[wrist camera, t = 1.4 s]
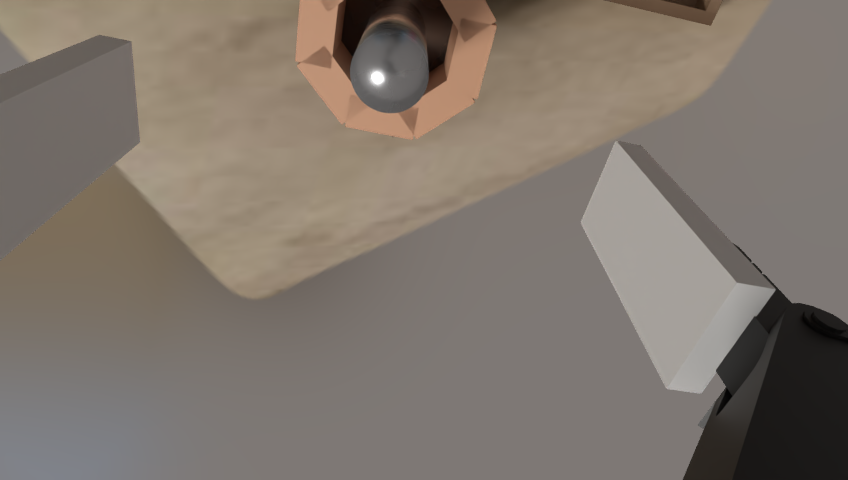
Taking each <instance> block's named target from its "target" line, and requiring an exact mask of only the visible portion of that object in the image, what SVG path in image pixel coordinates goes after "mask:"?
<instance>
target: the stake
mask: <svg viewBox="0 0 848 480" xmlns="http://www.w3.org/2000/svg"><path fill="white" fill-rule="evenodd" d="M452 24H453V21H452V19H451V18H450V16H449V14H448V13H447V11H446V9H445V7H444V6H443V4H442V2H441V1H440V0H346V6H345V14H344V23H343V31H342V39H341V41H342V42H343V44H344V45H345V47H346V48H347V50H348V51H349V52H350V54H351V55H352V57H353V58H352V61H351V66H350V78H351V83H352V86H353V89H354V91H355V93H356V94H357V96H358V97H359V98H360V100H361V101H362V102H363V103H365V104H366V105H367V106H368V107H370V108H372V109H374V110H376V111H379V112H383V113H399V112H402V111H405V110H407V109H409V108H411V107H412V106H414V105H415V104H416V103H417V102H418V101H419V100H420V99H421V98H422V96H423V94H424V93H425V90H426V88H427V85H428V79H429V72H431V71H432V70H434V69H435V68H437V67H438V66H440V65H441V64H443V63H444V60H445V55H446V51H447V46H448V42H449V37H450V33H451V28H452Z"/></svg>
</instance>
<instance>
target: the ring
mask: <svg viewBox="0 0 848 480" xmlns="http://www.w3.org/2000/svg"><path fill="white" fill-rule="evenodd" d="M440 1H441V2H442V4H443V6H444V7H445V9H446V11H447V13H448V14H449V16H450V18H451V19H452V21H453V24H452V28H451V33H450V37H449V42H448V46H447V51H446V55H445V60H444V63H443V64H441V65H440V66H438V67H437V68H435V69H434V70H432V71H431V72H429V79H428V85H427V88H426V90H425V93H424V94H423V96H422V98H421V99H420V100H419V101H418V102H417V103H416V104H415V105H414V106H412V107H411V108H409V109H407V110H405V111H402V112H399V113H383V112H379V111H376V110H374V109H372V108H370V107H368V106H367V105H366V104H365V103H363V102H362V101H361V100H360V98H359V97H358V96H357V94H356V93H355V91H354V89H353V86H352V83H351V78H350V66H351V61H352V58H353V57H352V55H351V54H350V52H349V51H348V50H347V48H346V47H345V45H344V44H343V42H342V41H341V39H342V31H343V23H344V14H345V6H346V0H300V7H299V20H298V33H297V46H296V59H295V61H296V62H299V63H298V65H297V67H298V68H299V69H300V71H301V72H302V73H303V75H304V76H305V77H306V78H307V80H308V81H309V82H310V84H311V85H312V86H313V88H314V89H315V90H316V92H317V93H318V94H319V95H320V97H321V98H322V99H323V101H324V102H325V103H326V105H327V106H328V107H329V109H330V110H331V111H332V112H333V114H334V115H335V116H336V118H337V119H338V120H339V122H340V123H341V124H343V123H345V122H346V125H345V127H349V128H354V129H360V130H365V131H370V132H375V133H380V134H385V135H390V136H395V137H400V138H406V139H411V140H413V135H414V136H415V138H416V139H417V138H419V137H421V136H422V135H424V134H425V133H427V132H429V131H430V130H432V129H433V128H435V127H437V126H438V125H440V124H441V123H443V122H445V121H446V120H448V119H449V118H451V117H453V116H454V115H456V114H457V113H459V112H461V111H462V110H464V109H465V108H467V107H469V106H470V105H472V104H473V103H475V101H474V99H478V95H479V91H480V88H481V84H482V80H483V76H484V73H485V69H486V65H487V62H488V58H489V54H490V50H491V47H492V43H493V39H494V35H495V32H496V28H497V25H496V24H495V22H496V19H495V17H494V16H493V14H492V12H491V10H490V8H489V6H488V4H487V3H486V1H485V0H440Z"/></svg>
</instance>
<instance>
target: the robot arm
mask: <svg viewBox="0 0 848 480" xmlns="http://www.w3.org/2000/svg"><path fill="white" fill-rule="evenodd" d="M139 142H140V137H139V126H138V114H137V103H136V91H135V79H134V68H133V56H132V44H131V41H127V40H122V39H117V38H112V37H107V36H102V35H98V36H95V37H93V38H90V39H88V40H85V41H83V42H81V43H78V44H76V45H73V46H71V47H68V48H66V49H63V50H61V51H58V52H56V53H53V54H51V55H48V56H46V57H43V58H41V59H38V60H36V61H33V62H31V63H28V64H26V65H24V66H21V67H19V68H16V69H13V70H11V71H8V72H6V73H3V74H1V75H0V260H1V259H3V258H4V257H5V256H6V255H7V254H8V253H10V252H11V251H12V250H13V249H14V248H15V247H17V246H18V245H19V244H20V243H21V242H23V241H24V240H25V239H26V238H27V237H29V236H30V235H31V234H32V233H33V232H34V231H36V230H37V229H38V228H39V227H40V226H41V225H42V224H44V223H45V222H46V221H47V220H48V219H50V218H51V217H52V216H53V215H54V214H56V213H57V212H58V211H59V210H60V209H62V208H63V207H64V206H65V205H66V204H67V203H69V202H70V201H71V200H72V199H73V198H75V197H76V196H77V195H78V194H79V193H80V192H82V191H83V190H84V189H85V188H86V187H88V186H89V185H90V184H91V183H92V182H93V181H95V180H96V179H97V178H98V177H99V176H101V175H102V174H103V173H104V172H105V171H106V170H108V169H109V168H110V167H111V166H112V165H114V164H115V163H116V162H117V161H118V160H119V159H121V158H122V157H123V156H124V155H125V154H127V153H128V152H129V151H130V150H131V149H132V148H134V147H135V146H136V145H137V144H138V143H139ZM581 224H582V226H583V228H584V230H585V232H586V234H587V236H588V238H589V240H590V242H591V244H592V246H593V248H594V249H595V251H596V253H597V255H598V257H599V259H600V261H601V263H602V265H603V267H604V269H605V270H606V273H607V275H608V277H609V279H610V281H611V282H612V284H613V286H614V288H615V290H616V292H617V294H618V296H619V298H620V300H621V302H622V304H623V305H624V307H625V310H626V311H627V313H628V315H629V317H630V319H631V321H632V323H633V325H634V327H635V329H636V331H637V333H638V335H639V336H640V338H641V340H642V342H643V344H644V346H645V348H646V350H647V352H648V354H649V356H650V358H651V360H652V361H653V364H654V366H655V367H656V369H657V371H658V373H659V375H660V377H661V379H662V381H663V383H664V385H665V387H666V389H672V390H679V391H686V392H693V393H700V394H701V393H702V392H703V390H704V389H705V387H706V386H707V384H708V383H709V382H710V380H711V379H712V378H713V376H714V375H715V373H716V372H717V373H718V375H719V376H720V378H721V379H722V381H723V383H724V384H725V386H726V388H725V389H724V391H723V392H722V393H721V395H720V396H719V398H718V399H717V400H716V401H715V403H714V404H713V405H712V407H711V408H710V409H709V411H708V412H707V413H706V415H705V416H704V418H703V419H702V420H701V421H700V423H699V424H698V426H700V427H701V428H704V427H705V428H704V430H703V433H702V435H701V438H700V440H699V443H698V445H697V447H696V449H695V452H694V454H693V457H692V459H691V461H690V464H689V466H688V468H687V471H686V474H685V476H684V478H683V480H848V325H847V324H846V323H845V322H843V321H842V320H840V319H839V318H838V317H836V316H834V315H833V314H830V313H828V312H826V311H823V310H821V309H818V308H816V307H814V306H810V305H805V304H801V303H791V302H790V301H789V300H788V299H787V298H786V297H785V295H784V294H783V293H782V292H781V291H780V290H779V289H778V288H777V287H776V286H775V285H774V284H773V283H772V282H771V281H770V280H769V279H768V278H767V276H766V275H764V274H762V271H761V270H760V269H759V268H758V267H757V266H756V265H755V264H754V263H751V259H750V258H749V257H747V255H746V254H745V253H744V252H743V251H742V250H741V249H740V248H739V247H738V246H736V245H735V244H733V243H732V242H731V241H730V240H729V239H728V238H727V237H726V236H725V235H724V234H723V233H722V231H720V229H719V228H718V227H717V226H716V225H715V224H714V223H713V222H712V221H711V220H710V219H709V218H708V216H707V215H706V214H705V213H704V212H703V211H702V210H701V209H700V208H699V207H698V206H697V205H696V204H695V203H694V202H693V200H692V199H691V198H690V197H689V196H688V195H687V194H686V193H685V192H684V191H683V190H682V189H681V188H680V187H679V186H678V185H677V183H676V182H675V181H674V180H673V179H672V178H671V177H670V176H669V175H668V174H667V173H666V172H665V171H664V170H663V169H662V168H661V167H660V165H659V164H658V163H657V162H656V161H655V160H654V159H653V158H652V157H651V156H650V155H649V154H648V152H647V151H646V150H645V149H644V148H643V147H642V146H640V145H635V144H631V143H626V142H621V141H615V144H614V146H613V149H612V151H611V154H610V156H609V158H608V161H607V163H606V165H605V167H604V169H603V172H602V174H601V176H600V179H599V181H598V183H597V186H596V188H595V190H594V193H593V195H592V197H591V200H590V202H589V204H588V207H587V209H586V211H585V213H584V216H583V218H582V220H581Z"/></svg>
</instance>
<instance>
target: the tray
mask: <svg viewBox="0 0 848 480" xmlns="http://www.w3.org/2000/svg"><path fill="white" fill-rule="evenodd" d="M605 1H610V2H614V3H618V4H622V5H626V6H631V7H635V8H639V9H643V10H647V11H651V12H656V13H660V14H664V15H668V16H672V17H677V18H681V19H685V20H689V21H693V22H698V23H702V24H706V25H710V26H711V24H712V22H713V20H714V18H715V16H716V14H717V12H718V9H719V7H720V5H721V3H722V1H723V0H605Z"/></svg>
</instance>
